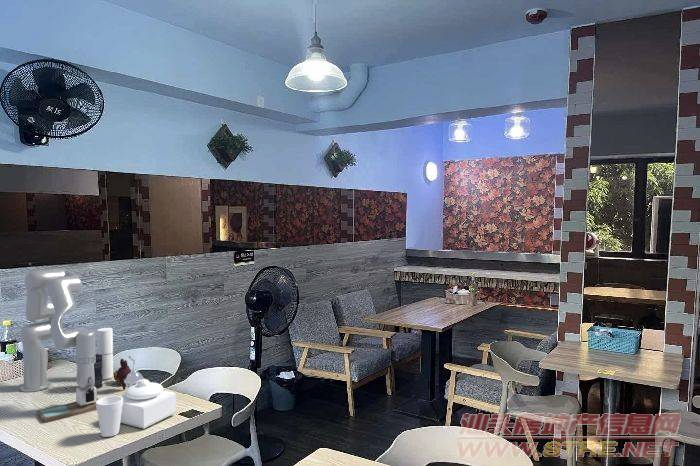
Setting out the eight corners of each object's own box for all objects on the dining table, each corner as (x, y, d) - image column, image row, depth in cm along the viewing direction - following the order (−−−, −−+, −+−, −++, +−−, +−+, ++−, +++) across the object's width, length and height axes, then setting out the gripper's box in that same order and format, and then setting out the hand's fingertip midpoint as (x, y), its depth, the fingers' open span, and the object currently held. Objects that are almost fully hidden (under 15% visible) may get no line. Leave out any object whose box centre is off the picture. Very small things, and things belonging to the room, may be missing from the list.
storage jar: (107, 386, 239) (106, 356, 238) (87, 392, 231) (86, 361, 230) (95, 382, 244) (95, 353, 244) (75, 388, 236) (75, 357, 235)
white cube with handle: (76, 401, 213) (76, 386, 213) (92, 397, 217) (91, 382, 217) (80, 405, 208) (80, 389, 208) (96, 401, 213) (96, 386, 213)
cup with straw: (123, 406, 214) (122, 361, 213) (124, 399, 222) (124, 356, 222) (144, 404, 217) (143, 359, 216) (144, 396, 226) (144, 354, 225)
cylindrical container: (106, 379, 248) (106, 331, 247) (94, 378, 249) (94, 330, 248) (116, 375, 255) (115, 328, 254) (104, 374, 256) (103, 327, 255)
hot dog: (122, 378, 251) (122, 368, 251) (131, 385, 241) (131, 375, 241) (112, 380, 248) (111, 370, 247) (120, 387, 238) (120, 377, 238)
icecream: (134, 390, 234) (134, 359, 233) (118, 394, 229) (118, 362, 228) (129, 386, 239) (128, 356, 238) (113, 390, 234) (113, 359, 233)
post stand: (36, 414, 205) (36, 397, 205) (95, 400, 221) (95, 383, 221) (44, 423, 196) (43, 405, 196) (104, 407, 213) (104, 390, 212)
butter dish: (176, 412, 209) (176, 376, 208) (142, 429, 192) (142, 389, 192) (146, 405, 216) (146, 370, 215) (111, 421, 200) (111, 383, 199)
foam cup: (102, 428, 193) (102, 395, 192) (126, 427, 193) (126, 395, 193) (92, 439, 183) (91, 405, 183) (117, 438, 184) (117, 404, 184)
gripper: (70, 357, 216) (71, 395, 216) (82, 366, 203) (83, 406, 204) (88, 353, 221) (89, 391, 222) (101, 362, 209) (102, 401, 209)
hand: (86, 398), depth 213 cm, fingers open, 8 cm apart
